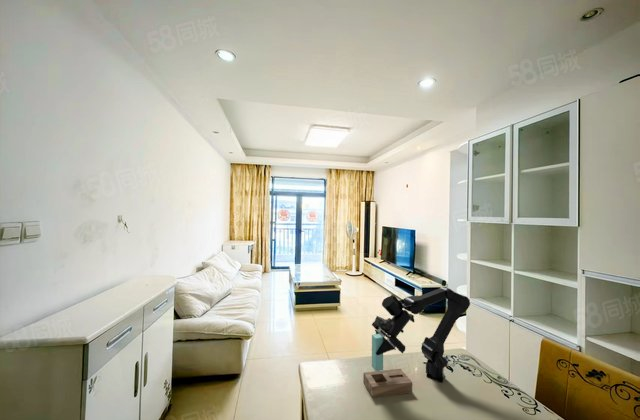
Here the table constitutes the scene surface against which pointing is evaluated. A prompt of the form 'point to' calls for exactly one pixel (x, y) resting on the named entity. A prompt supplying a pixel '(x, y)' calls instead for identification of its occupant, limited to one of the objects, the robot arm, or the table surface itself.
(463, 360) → the table surface
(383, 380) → the bore block
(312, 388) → the table surface
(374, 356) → the teal square peg
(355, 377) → the table surface
